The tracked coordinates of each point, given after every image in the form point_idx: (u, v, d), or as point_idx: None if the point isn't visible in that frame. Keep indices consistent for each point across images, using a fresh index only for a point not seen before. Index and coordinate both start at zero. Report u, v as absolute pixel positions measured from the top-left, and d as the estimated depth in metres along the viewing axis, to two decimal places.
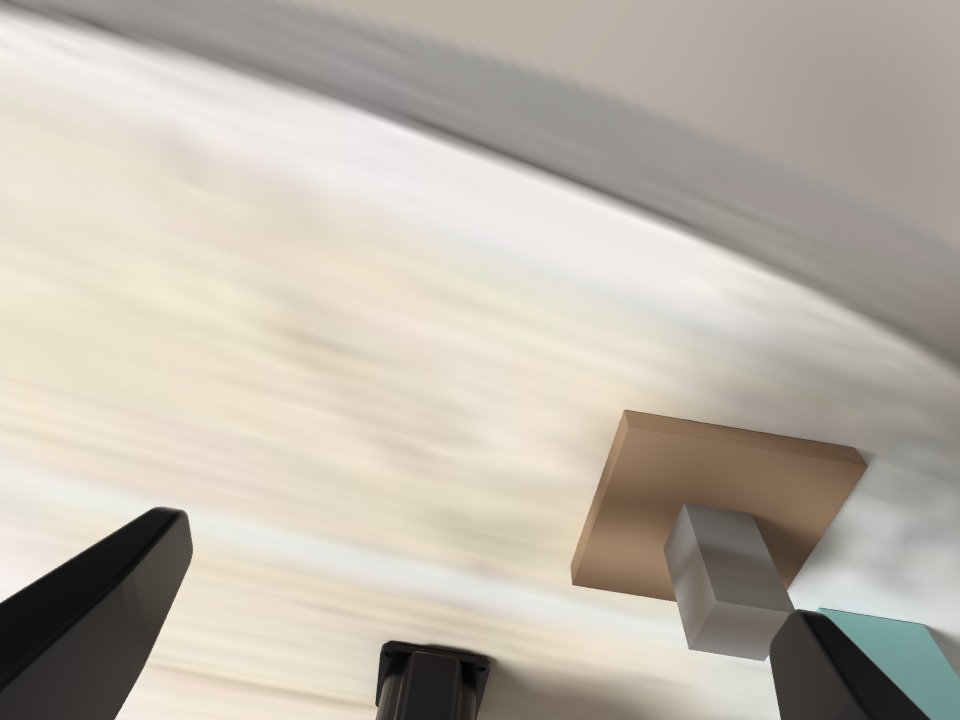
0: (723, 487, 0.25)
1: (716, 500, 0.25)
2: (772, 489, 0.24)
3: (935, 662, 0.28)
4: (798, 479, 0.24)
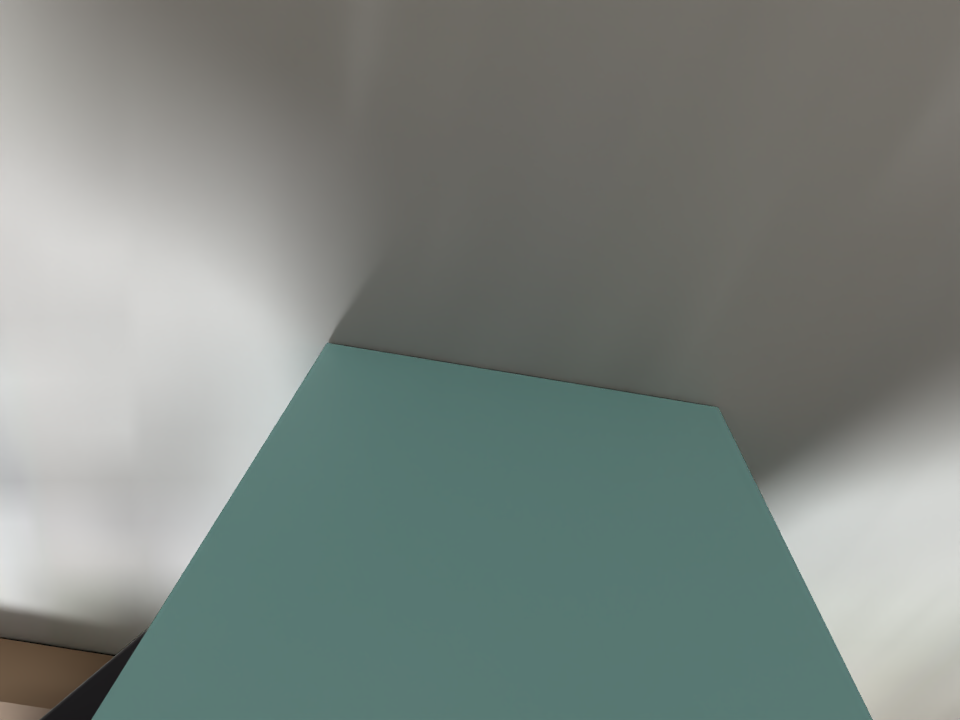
0: None
1: None
2: None
3: None
4: None
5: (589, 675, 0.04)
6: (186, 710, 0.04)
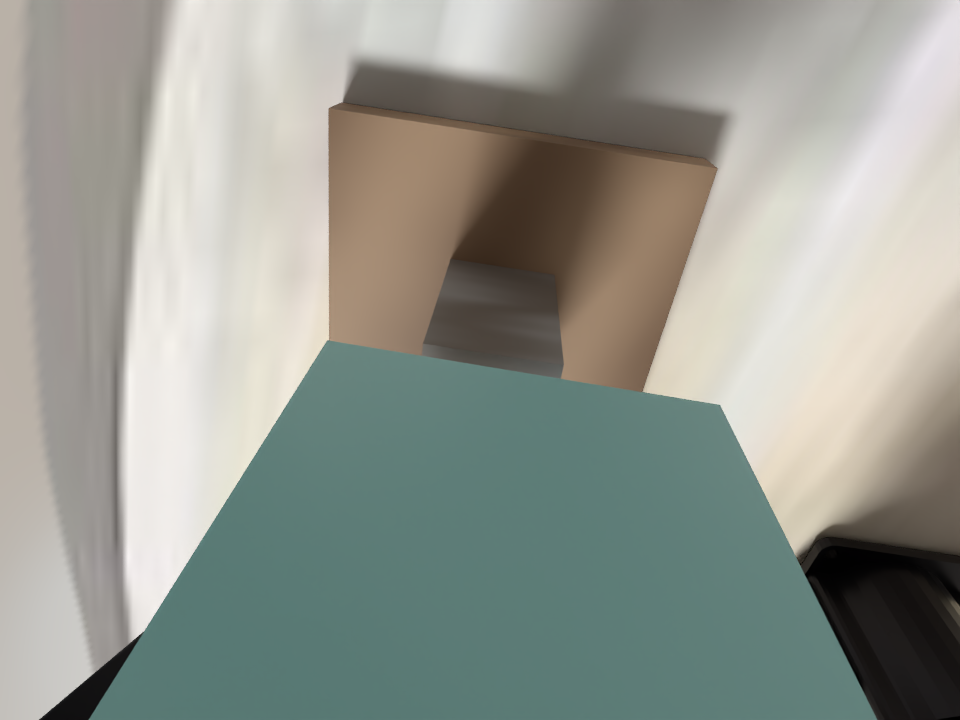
0: (405, 305, 0.17)
1: (430, 310, 0.17)
2: (399, 239, 0.16)
3: None
4: (373, 208, 0.16)
5: (591, 672, 0.04)
6: (184, 706, 0.04)
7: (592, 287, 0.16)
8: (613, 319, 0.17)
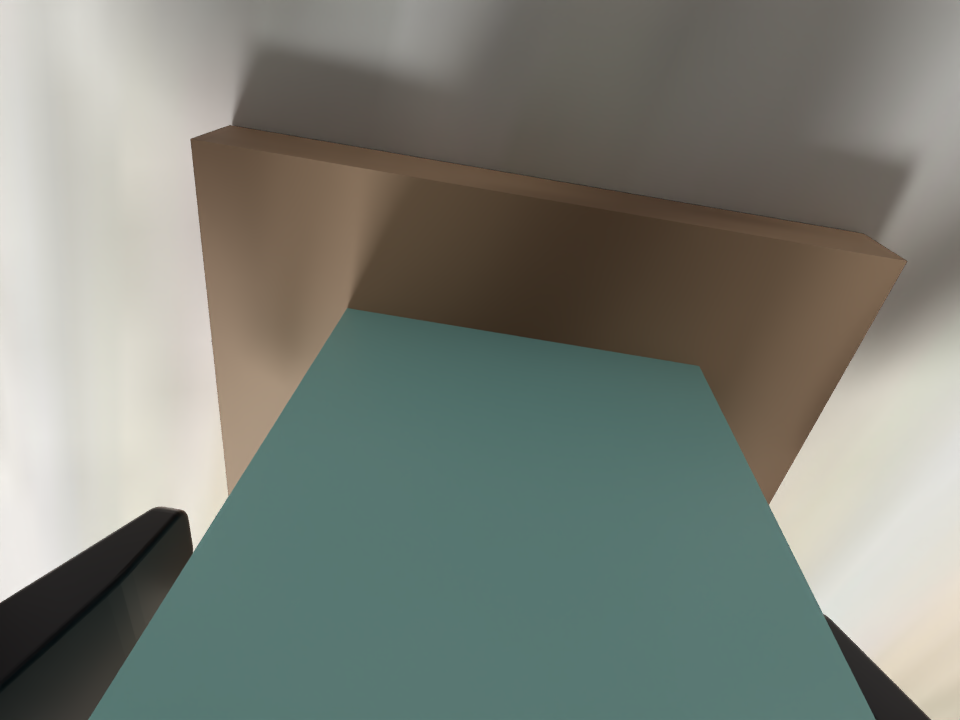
0: None
1: None
2: None
3: None
4: (285, 309, 0.09)
5: (579, 561, 0.05)
6: (250, 574, 0.05)
7: None
8: None
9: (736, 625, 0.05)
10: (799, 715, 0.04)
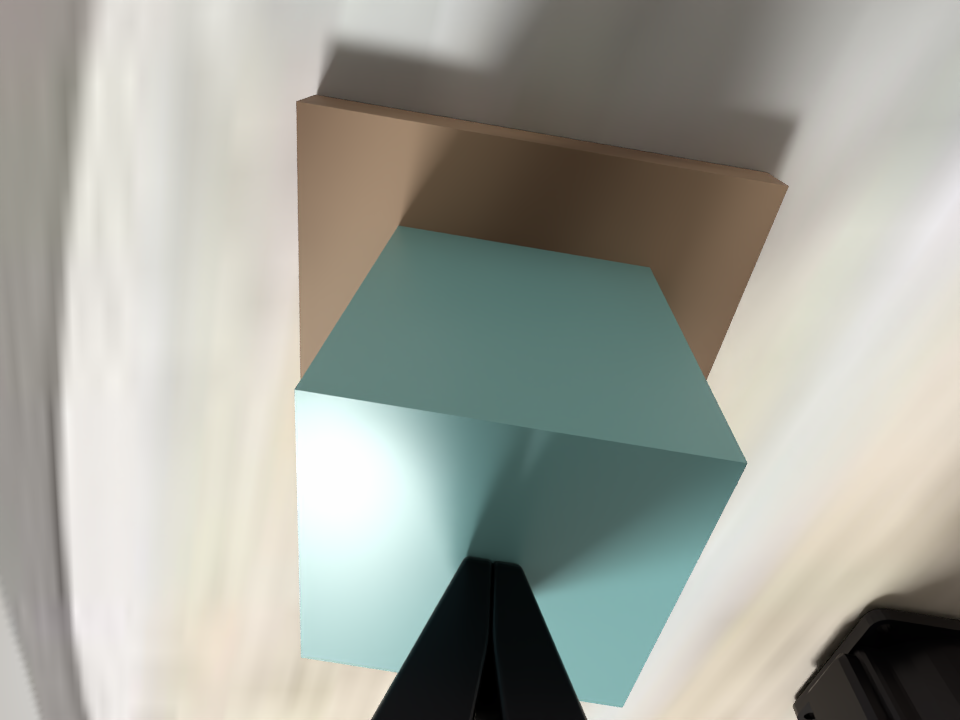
0: None
1: None
2: None
3: None
4: (353, 227, 0.13)
5: (557, 343, 0.09)
6: (369, 335, 0.08)
7: None
8: None
9: (648, 372, 0.09)
10: (676, 403, 0.08)
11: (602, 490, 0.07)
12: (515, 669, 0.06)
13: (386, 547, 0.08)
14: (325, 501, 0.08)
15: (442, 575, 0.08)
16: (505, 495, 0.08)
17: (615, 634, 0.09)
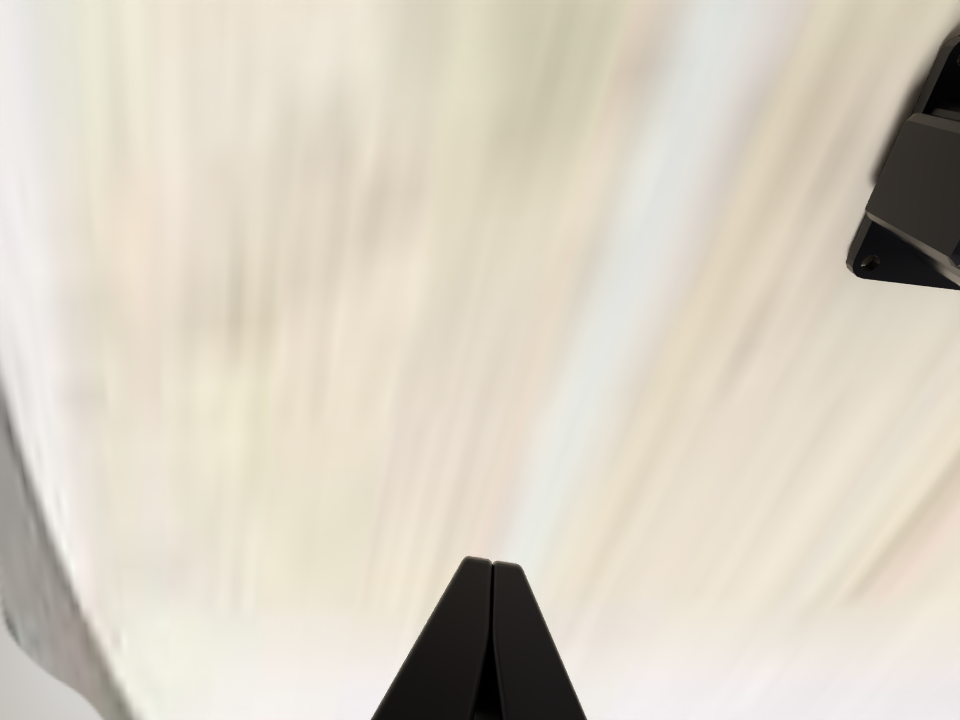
0: None
1: None
2: None
3: None
4: None
5: None
6: None
7: None
8: None
9: None
10: None
11: None
12: (515, 669, 0.06)
13: None
14: None
15: None
16: None
17: None
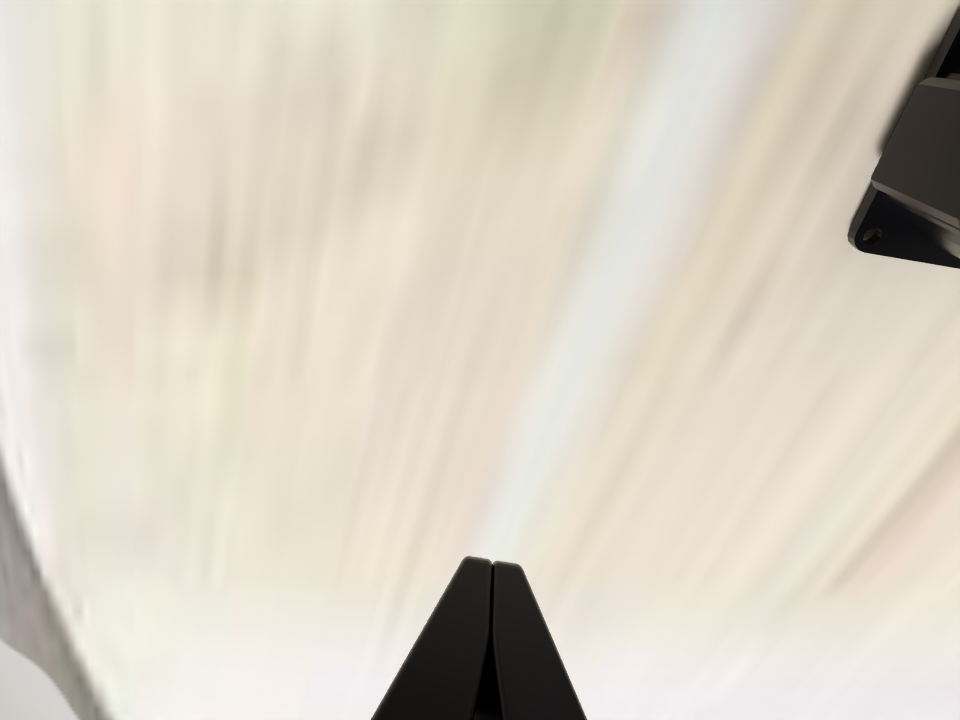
0: None
1: None
2: None
3: None
4: None
5: None
6: None
7: None
8: None
9: None
10: None
11: None
12: (515, 669, 0.06)
13: None
14: None
15: None
16: None
17: None
